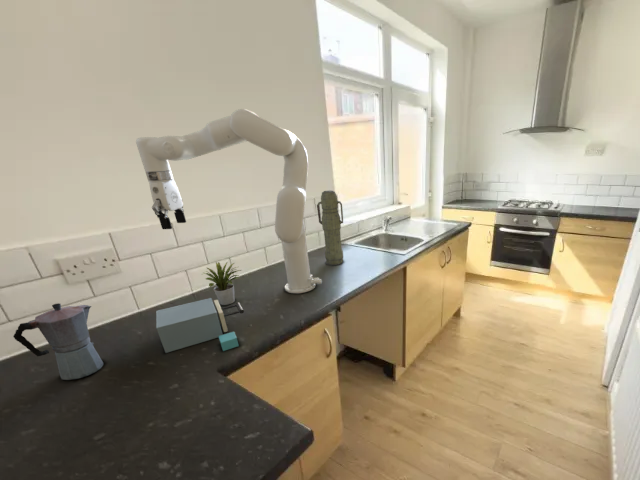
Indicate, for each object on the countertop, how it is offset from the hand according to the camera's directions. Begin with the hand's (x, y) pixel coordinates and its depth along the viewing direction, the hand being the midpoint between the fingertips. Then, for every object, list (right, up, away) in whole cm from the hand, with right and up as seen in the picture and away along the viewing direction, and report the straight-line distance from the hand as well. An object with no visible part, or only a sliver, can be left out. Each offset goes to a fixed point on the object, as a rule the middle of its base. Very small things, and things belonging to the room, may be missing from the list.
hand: (174, 225), depth 117 cm
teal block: (+30, -40, -21) cm, 54 cm away
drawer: (+20, -36, -13) cm, 43 cm away
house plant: (+16, -29, +5) cm, 34 cm away
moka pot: (-5, -46, -30) cm, 55 cm away
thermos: (+52, -10, +45) cm, 69 cm away
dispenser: (+16, -38, -15) cm, 44 cm away
